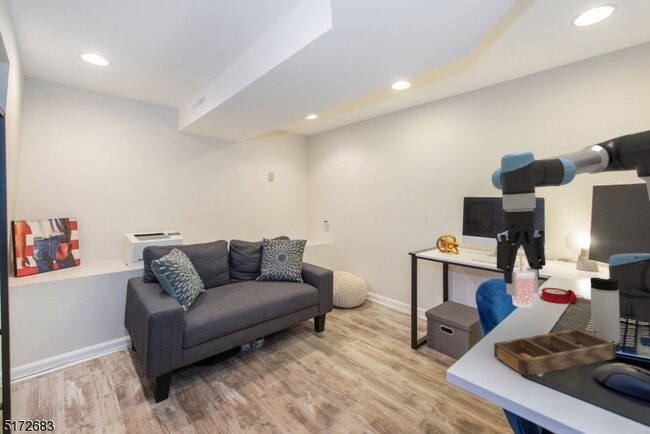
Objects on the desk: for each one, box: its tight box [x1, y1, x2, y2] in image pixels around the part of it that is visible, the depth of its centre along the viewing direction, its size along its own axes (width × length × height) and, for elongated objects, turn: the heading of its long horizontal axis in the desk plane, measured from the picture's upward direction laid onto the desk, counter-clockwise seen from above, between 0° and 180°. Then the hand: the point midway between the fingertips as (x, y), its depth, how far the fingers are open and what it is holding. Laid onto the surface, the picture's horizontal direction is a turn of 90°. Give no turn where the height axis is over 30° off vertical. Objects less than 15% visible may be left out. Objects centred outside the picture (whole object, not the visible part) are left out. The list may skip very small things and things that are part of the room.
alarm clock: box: [538, 287, 585, 305], centre depth 125 cm, size 10×6×15 cm
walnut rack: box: [493, 328, 617, 377], centre depth 83 cm, size 30×10×4 cm, turn 101°
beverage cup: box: [511, 254, 535, 309], centre depth 80 cm, size 6×6×14 cm
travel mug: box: [590, 277, 621, 341], centre depth 89 cm, size 6×7×20 cm
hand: (522, 293), depth 80 cm, fingers closed on beverage cup, 6 cm apart
